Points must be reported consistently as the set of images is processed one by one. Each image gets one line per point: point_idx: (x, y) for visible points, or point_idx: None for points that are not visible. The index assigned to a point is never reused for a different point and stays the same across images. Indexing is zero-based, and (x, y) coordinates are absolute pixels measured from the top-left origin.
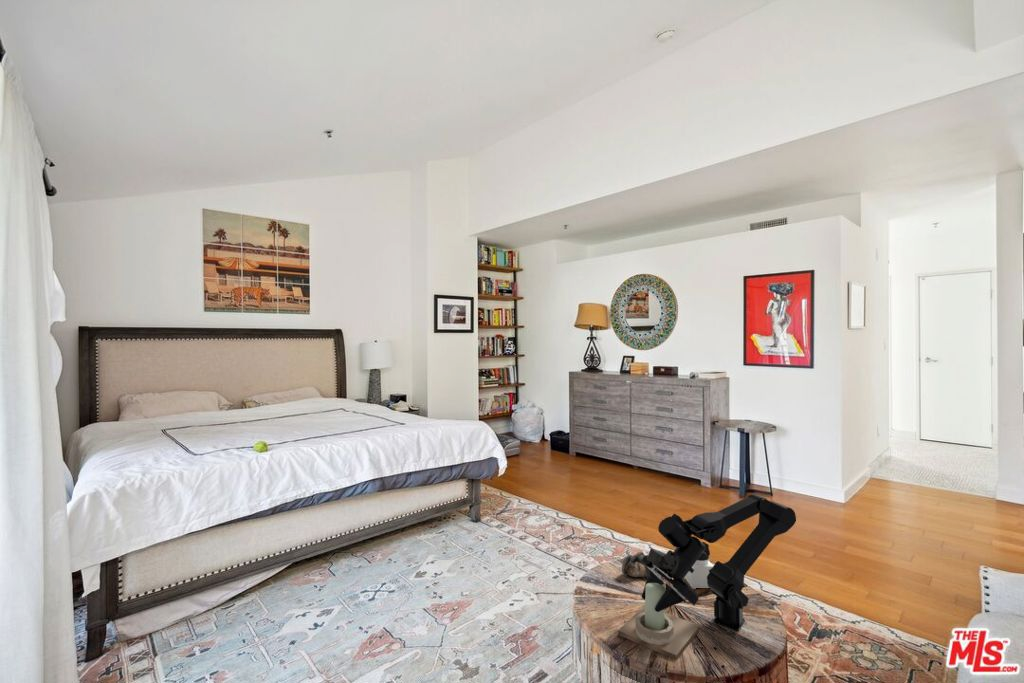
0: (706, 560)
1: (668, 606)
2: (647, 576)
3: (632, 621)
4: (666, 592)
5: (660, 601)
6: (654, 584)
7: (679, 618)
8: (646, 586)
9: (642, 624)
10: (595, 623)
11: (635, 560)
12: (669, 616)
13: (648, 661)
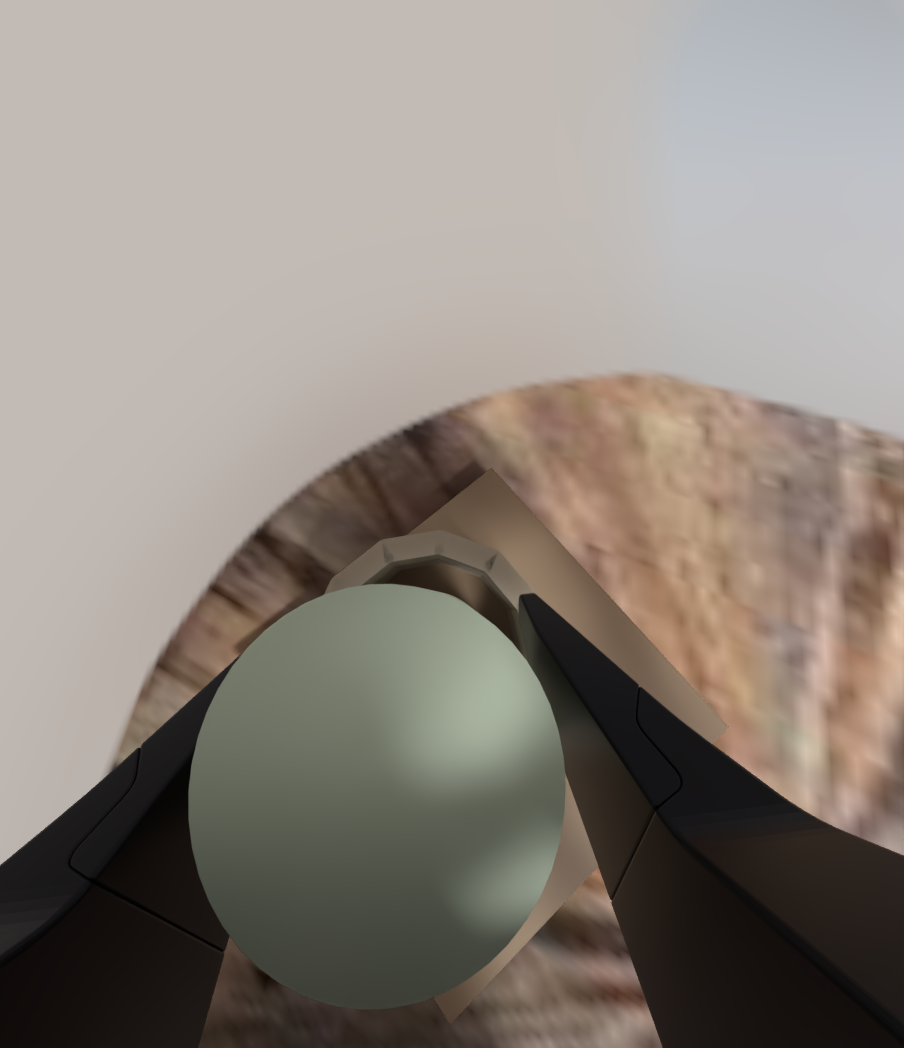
0: None
1: None
2: (789, 808)
3: (557, 571)
4: (9, 911)
5: (201, 704)
6: (487, 815)
7: (551, 906)
8: (429, 605)
9: (507, 608)
10: (592, 410)
11: None
12: (583, 840)
13: (281, 533)
